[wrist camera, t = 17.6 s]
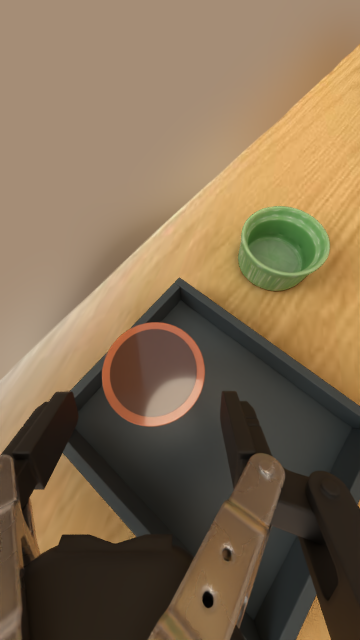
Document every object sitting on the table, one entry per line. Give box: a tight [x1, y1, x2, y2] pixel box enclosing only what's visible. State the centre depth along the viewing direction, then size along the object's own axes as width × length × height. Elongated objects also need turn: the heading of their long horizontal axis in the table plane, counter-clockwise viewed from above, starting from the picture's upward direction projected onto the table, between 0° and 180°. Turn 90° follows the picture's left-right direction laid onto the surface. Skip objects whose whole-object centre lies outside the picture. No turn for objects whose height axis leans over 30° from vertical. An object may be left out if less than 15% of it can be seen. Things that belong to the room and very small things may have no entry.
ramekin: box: [238, 206, 330, 291], centre depth 26 cm, size 9×9×4 cm
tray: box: [63, 278, 360, 640], centre depth 20 cm, size 18×22×4 cm
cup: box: [102, 322, 205, 427], centre depth 18 cm, size 6×6×9 cm
